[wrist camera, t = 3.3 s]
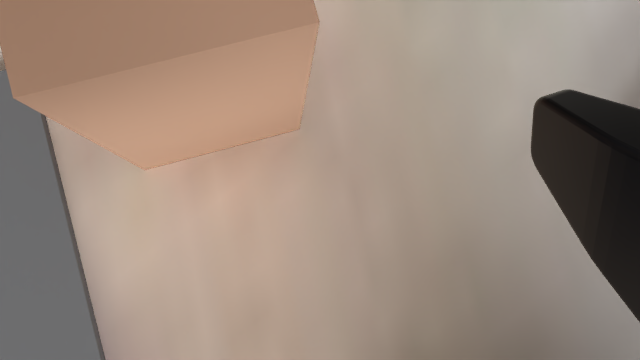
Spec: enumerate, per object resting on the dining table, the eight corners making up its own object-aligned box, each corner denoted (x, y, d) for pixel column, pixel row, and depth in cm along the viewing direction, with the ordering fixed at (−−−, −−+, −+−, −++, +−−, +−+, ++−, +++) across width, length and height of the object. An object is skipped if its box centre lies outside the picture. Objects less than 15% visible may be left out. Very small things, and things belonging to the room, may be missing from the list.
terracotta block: (266, 11, 20) (255, -200, 10) (299, 129, 19) (319, 21, 10) (113, 49, 19) (-44, -137, 10) (144, 170, 19) (13, 98, 10)
